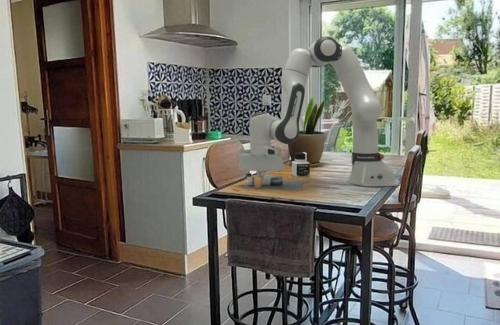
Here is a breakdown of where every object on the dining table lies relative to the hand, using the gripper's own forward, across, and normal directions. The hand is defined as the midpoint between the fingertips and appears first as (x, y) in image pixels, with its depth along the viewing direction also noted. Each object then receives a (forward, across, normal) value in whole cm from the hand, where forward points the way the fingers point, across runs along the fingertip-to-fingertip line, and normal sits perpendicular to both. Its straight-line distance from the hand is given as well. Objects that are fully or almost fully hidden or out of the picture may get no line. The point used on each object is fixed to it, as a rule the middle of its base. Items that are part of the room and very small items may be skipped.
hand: (261, 180), depth 189 cm
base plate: (+4, +5, +5) cm, 8 cm away
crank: (+2, +1, +3) cm, 4 cm away
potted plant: (+4, +7, +65) cm, 66 cm away
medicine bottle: (+4, +11, +33) cm, 35 cm away
